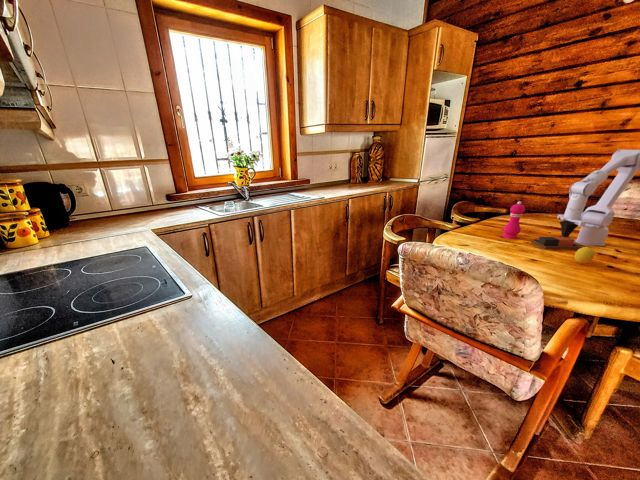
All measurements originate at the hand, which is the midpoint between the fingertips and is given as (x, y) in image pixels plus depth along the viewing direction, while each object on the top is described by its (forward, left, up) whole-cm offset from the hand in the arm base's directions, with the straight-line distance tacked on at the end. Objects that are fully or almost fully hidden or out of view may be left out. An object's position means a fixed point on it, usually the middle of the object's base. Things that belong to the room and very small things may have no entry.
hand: (564, 236), depth 133 cm
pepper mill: (+16, -14, -6) cm, 22 cm away
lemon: (+7, +22, -6) cm, 24 cm away
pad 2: (0, 0, -5) cm, 5 cm away
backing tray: (+3, 0, -5) cm, 6 cm away
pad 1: (+6, 0, -5) cm, 8 cm away
